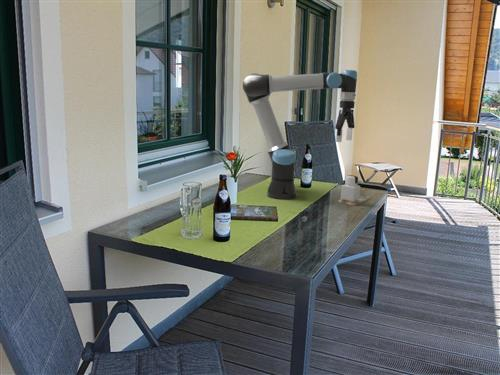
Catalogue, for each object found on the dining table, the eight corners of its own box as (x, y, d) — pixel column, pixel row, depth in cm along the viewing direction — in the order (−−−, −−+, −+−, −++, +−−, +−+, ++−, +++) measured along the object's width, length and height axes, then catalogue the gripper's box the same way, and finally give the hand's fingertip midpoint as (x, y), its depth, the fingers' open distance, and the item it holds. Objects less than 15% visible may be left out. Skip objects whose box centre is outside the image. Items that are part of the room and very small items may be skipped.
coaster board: (337, 202, 247) (338, 199, 247) (352, 196, 264) (353, 192, 264) (354, 205, 243) (355, 202, 242) (369, 198, 259) (369, 195, 259)
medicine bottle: (346, 196, 253) (348, 173, 250) (359, 199, 249) (361, 176, 246) (340, 199, 247) (342, 175, 245) (353, 201, 243) (355, 177, 241)
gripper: (344, 101, 245) (341, 143, 250) (362, 100, 266) (359, 140, 270) (331, 100, 249) (327, 141, 254) (349, 99, 270) (346, 138, 274)
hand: (343, 141), depth 262 cm, fingers open, 13 cm apart
